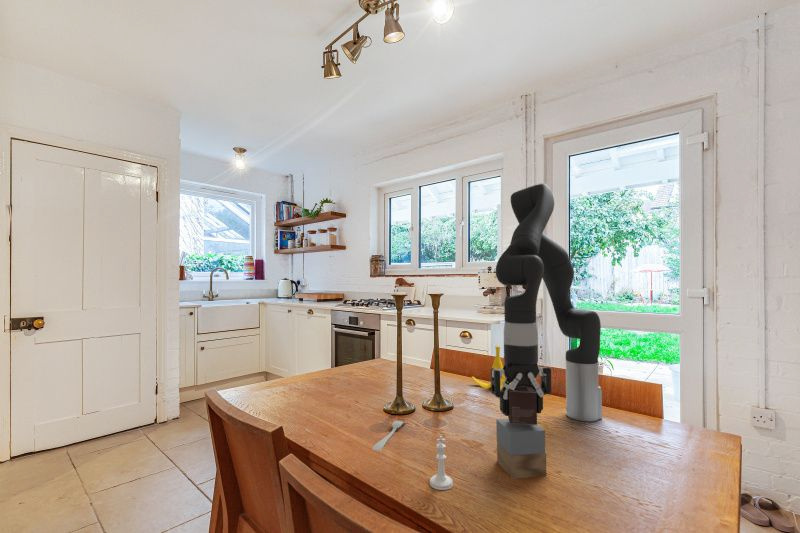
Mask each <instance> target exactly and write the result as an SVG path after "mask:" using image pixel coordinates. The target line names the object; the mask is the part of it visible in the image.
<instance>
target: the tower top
mask: <svg viewBox="0 0 800 533" xmlns="http://www.w3.org/2000/svg"><path fill="white" fill-rule="evenodd" d="M495 422H496V442H497V441H498V442H499V444H500V445H501V446H502V447H503V448H504V449H505V450H506V451H507V452H508V453H509V454H510V455H511V456H515V455H528V454H541V453H546V430H545V429H544V428H543V427H541V426H540V425H539V424H537V425H528V424H511V423H510V422H509V418H497V419H496V421H495Z"/></svg>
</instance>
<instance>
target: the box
mask: <svg viewBox="0 0 800 533" xmlns="http://www.w3.org/2000/svg"><path fill="white" fill-rule="evenodd" d="M509 385H510V384H509ZM508 400H509V416H507V419H509V422H510V423H511V424H528V425H538V413H537V392H536V391H535V389H534V388H532V387H531V386H530V387H525V386H522V387H515V389H514V390H513V391H511V390H509V397H508Z"/></svg>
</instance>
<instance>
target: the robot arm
mask: <svg viewBox="0 0 800 533" xmlns="http://www.w3.org/2000/svg"><path fill="white" fill-rule="evenodd" d="M510 205H511V209H512V212H513V214H514V216H515V219H516V220H517V222H518V225H517V227H516V228H515V229H514V231H513V233H512V236H511V240H510V243H509V245H508V247H507V248H506V249H505V250H504V252H502V254H501V255H500V257H499V258H498V261H497V263H496V266H495V276H496V279H497V281H498V282H499V283H500V284H501V285H504V286H526V290H525V291H524V292H523V293H521V294H517V295H511V296H508V297H506V298H505V299H504V305H503V307H504V326H503V362H504V364H503V369H495V368H492V367H491V368H490V382H491V388H490V392H491V394H492V395H494V396H495V397H496V398H499V410H500V412H501V413H502V414H503V416H505V417H508V416H509V400H508V397H509V390H511V391H513V390H514V389H515V387H522V386H525V387H530V386H531V387H532V388H534V389H535V391H536V392H537V414H541V413H542V411H543V409H544V396H545V395H551V393H552V369H551V368H550V367H548V366H546V365H542V366H538V363H539V337H538V326H537V300H538V296H539V295H538V294H539V290H540V287H541V283H542V280H543V282H544V285H545V287H546V290H547V293H548V295H549V297H550V300H551V303H552V306H553V311H554V314H555V317H556V320H557V324H558V327H559V330H560V331H561V333H562V335H564V336H565V337H567V338H571V339H577V340H579V343H578V346H577V347H576V348H571V349H568V350H566V352H565V395H566V396H565V400H566V401H565V402H566V403H565V404H566V408H565V409H566V416H568V417H569V418H570V419H573V420H576V421H580V422H597V421H599V420H600V419H601V420H602V419H603V401H602V399H603V397H602V396H603V394H602V391H603V390H602V387H601V386H600V385H599V356H600V352H601V334H602V333H601V328H602V327H601V326H602V324H601V318H600V316H599V314H598V312H596V311H595V310H589V309H578V308H577V309H576V308H575V307H574V306H573V303H572V301H571V298H570V290H571V287H572V284H573V281H574V276H575V271H574V267H573V264H572V262H571V259H570V256H569V254H568V252H567V250H566V249H565V248H564V247H563V246H561V244H559V243H558V242H557V241H555V240H554V239H552V238H550V237H549V236H548V235H546V234H545V233H544V231H545V228H546V227H547V225H548V223H549V221H550V218H551V216H552V214H553V213H554V207H555V199H554V195H553V192H552V189H551V188H550V187H549V185H547V184H546V183H537V184H534V185H530V186H528V187H525V188H522V189H520V190H517V191H515V192H513V193H511V195H510ZM503 374H504V375H505V381H504V382H503V386H502V388H501V390H500V379H501V378H502V375H503ZM539 375H540V384H539V382H538V381H537V379H536V378H537V377H538V376H539ZM509 384H510V385H509Z"/></svg>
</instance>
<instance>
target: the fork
mask: <svg viewBox="0 0 800 533" xmlns="http://www.w3.org/2000/svg"><path fill="white" fill-rule="evenodd" d="M404 423H405V424H407V421H401V420H394V421H393V422H392V423H391V426H392V430H391V431H390V432H389V433H388V434H387V435H386V436H384V438H383V437H382V439H380V440H379V441H378V442H377V443H375V444H374V445H373V446H372V448H371V450H373V451H382V449H383V447H384V446H385V444H386V443H387V441H388V440H389V439H390V438H391V436H393V434H395V432H396V431H397V429H398V428H400V427H401V426H402V425H403V424H404Z"/></svg>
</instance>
